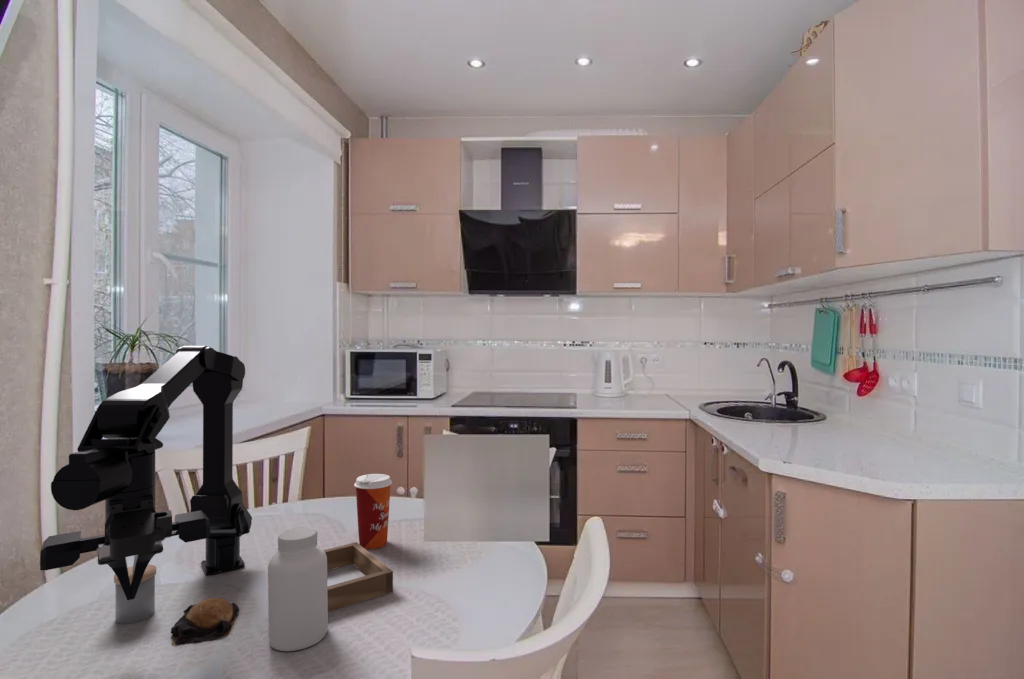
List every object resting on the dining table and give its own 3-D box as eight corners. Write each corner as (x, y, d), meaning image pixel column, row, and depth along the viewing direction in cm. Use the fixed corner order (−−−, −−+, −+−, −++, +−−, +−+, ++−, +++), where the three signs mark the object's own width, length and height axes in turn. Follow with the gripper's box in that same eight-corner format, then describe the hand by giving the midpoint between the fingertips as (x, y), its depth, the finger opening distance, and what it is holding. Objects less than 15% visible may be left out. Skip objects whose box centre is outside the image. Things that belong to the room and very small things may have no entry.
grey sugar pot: (113, 613, 83) (113, 570, 83) (154, 603, 87) (155, 561, 87) (114, 628, 79) (114, 582, 79) (157, 617, 82) (157, 573, 82)
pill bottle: (279, 623, 80) (279, 524, 80) (333, 621, 81) (333, 523, 81) (258, 654, 72) (258, 544, 73) (319, 652, 73) (319, 542, 73)
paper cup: (382, 552, 107) (382, 483, 107) (347, 549, 109) (347, 481, 109) (398, 538, 115) (398, 473, 115) (365, 536, 116) (365, 471, 116)
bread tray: (273, 581, 94) (273, 561, 94) (356, 560, 104) (356, 542, 104) (301, 620, 81) (301, 597, 81) (392, 591, 91) (392, 571, 91)
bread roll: (182, 615, 84) (182, 592, 84) (242, 606, 87) (242, 583, 87) (163, 652, 74) (163, 625, 74) (231, 640, 77) (231, 615, 77)
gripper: (35, 516, 62) (35, 649, 62) (216, 488, 74) (216, 601, 74) (44, 493, 71) (44, 610, 71) (204, 472, 83) (204, 573, 83)
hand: (130, 598), depth 74 cm, fingers closed
